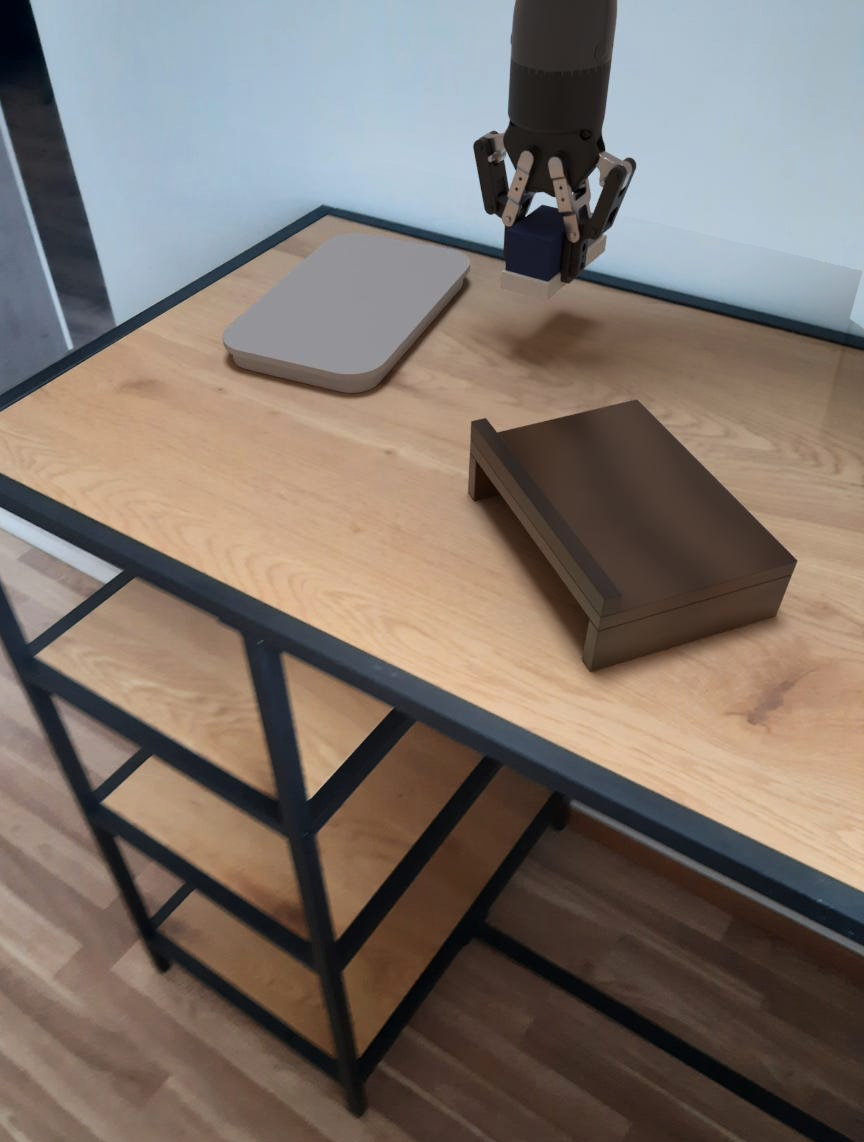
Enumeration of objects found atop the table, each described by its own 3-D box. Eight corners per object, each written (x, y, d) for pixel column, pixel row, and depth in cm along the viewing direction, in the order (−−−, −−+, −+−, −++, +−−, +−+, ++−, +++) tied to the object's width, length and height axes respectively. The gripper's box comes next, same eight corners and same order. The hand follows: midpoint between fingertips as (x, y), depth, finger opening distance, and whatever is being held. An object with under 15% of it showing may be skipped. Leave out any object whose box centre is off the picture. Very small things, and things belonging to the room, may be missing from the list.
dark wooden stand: (626, 452, 76) (640, 381, 71) (776, 615, 63) (805, 542, 58) (467, 492, 73) (470, 420, 68) (590, 672, 60) (604, 599, 55)
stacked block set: (560, 240, 88) (565, 184, 84) (605, 251, 86) (612, 195, 82) (500, 287, 82) (503, 230, 78) (546, 300, 80) (552, 242, 76)
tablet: (478, 275, 98) (479, 254, 96) (369, 403, 82) (368, 380, 80) (340, 249, 103) (339, 229, 101) (212, 365, 87) (208, 343, 85)
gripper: (672, 50, 69) (636, 274, 81) (504, 25, 75) (494, 238, 87) (628, 79, 65) (596, 311, 77) (453, 51, 71) (450, 270, 83)
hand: (542, 271), depth 82 cm, fingers closed on stacked block set, 4 cm apart
